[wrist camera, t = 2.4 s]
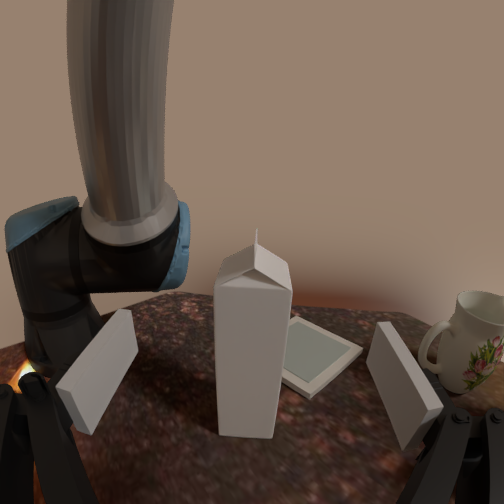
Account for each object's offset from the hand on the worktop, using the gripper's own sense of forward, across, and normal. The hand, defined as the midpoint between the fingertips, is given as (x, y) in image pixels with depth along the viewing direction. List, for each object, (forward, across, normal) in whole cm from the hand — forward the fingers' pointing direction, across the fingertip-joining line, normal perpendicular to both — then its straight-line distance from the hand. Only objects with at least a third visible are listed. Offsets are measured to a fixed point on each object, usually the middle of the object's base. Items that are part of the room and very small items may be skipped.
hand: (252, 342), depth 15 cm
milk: (+11, 0, -19) cm, 22 cm away
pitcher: (+15, +31, -20) cm, 39 cm away
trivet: (+24, +8, -19) cm, 32 cm away
